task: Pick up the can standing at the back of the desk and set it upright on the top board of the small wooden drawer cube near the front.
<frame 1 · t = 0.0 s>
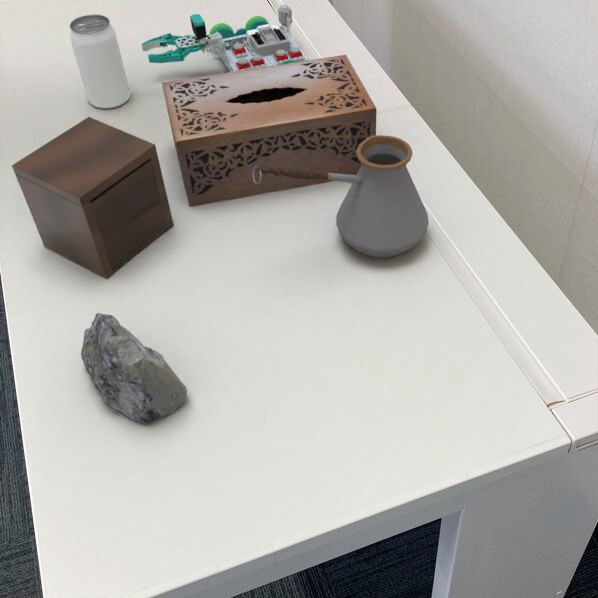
robot kit: (230, 74, 125), on the table
tissue box cover: (273, 160, 109), on the table
wooden drawer cube: (109, 235, 98), on the table
coffee pot: (345, 248, 97), on the table
mineral rock: (137, 381, 83), on the table
can: (110, 99, 120), on the table
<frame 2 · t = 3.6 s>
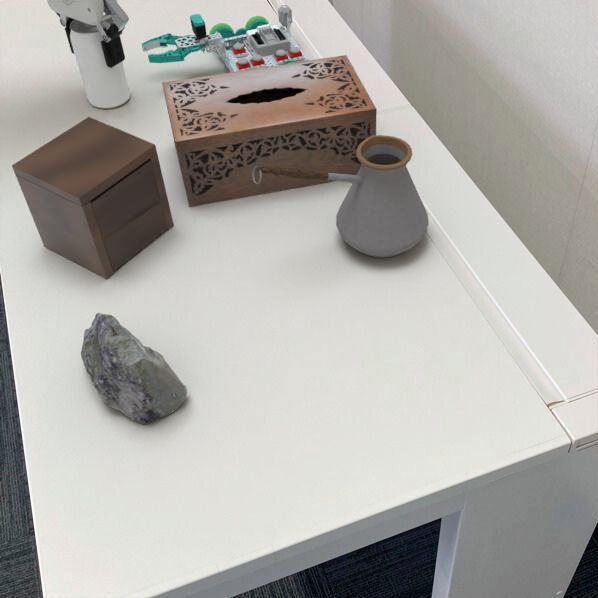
hand: (98, 55, 114), 7 cm above the table, tool pointing down, fingers closed on can, 6 cm apart
can: (110, 99, 120), on the table, touching gripper
everything else where it was.
when the fingers open (19 cm above the table, at t = 10.3 s): can stays where it is, resting on wooden drawer cube.
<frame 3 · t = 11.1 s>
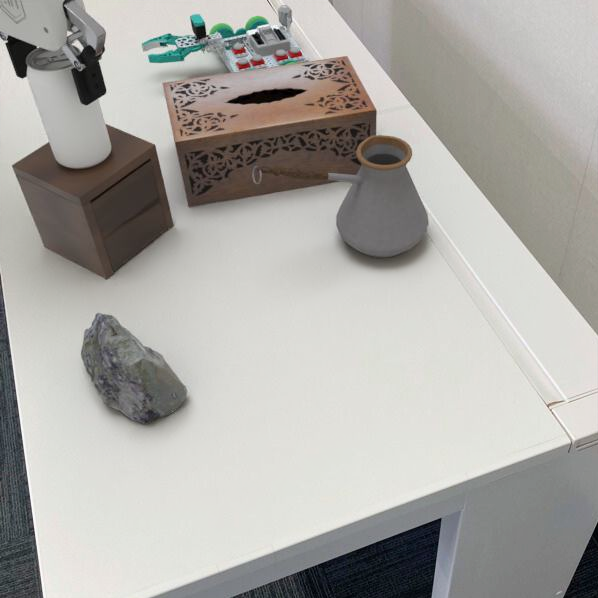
hand: (61, 85, 83), 21 cm above the table, tool pointing down, fingers open, 9 cm apart
can: (84, 155, 89), point 12 cm above the table, touching wooden drawer cube
everything else where it was.
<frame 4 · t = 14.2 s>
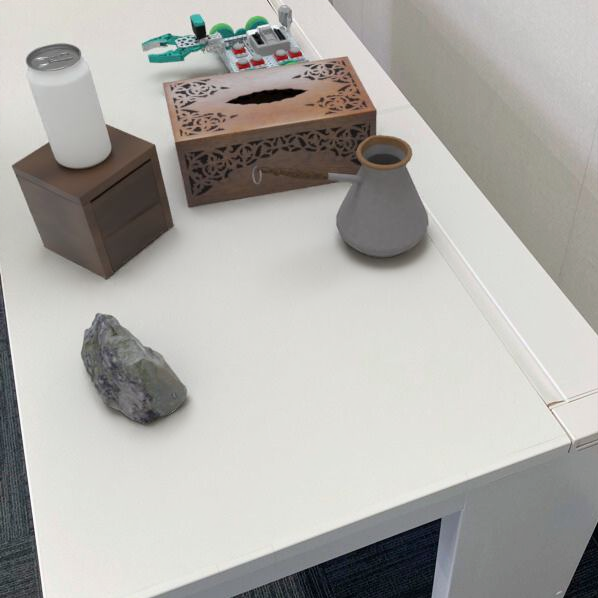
nothing on the table moved.
at the end: can inside the target area on the wooden drawer cube (0.1 cm from its centre), point 12.0 cm above the wooden drawer cube's base; can tilted 0°; the gripper is holding nothing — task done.
